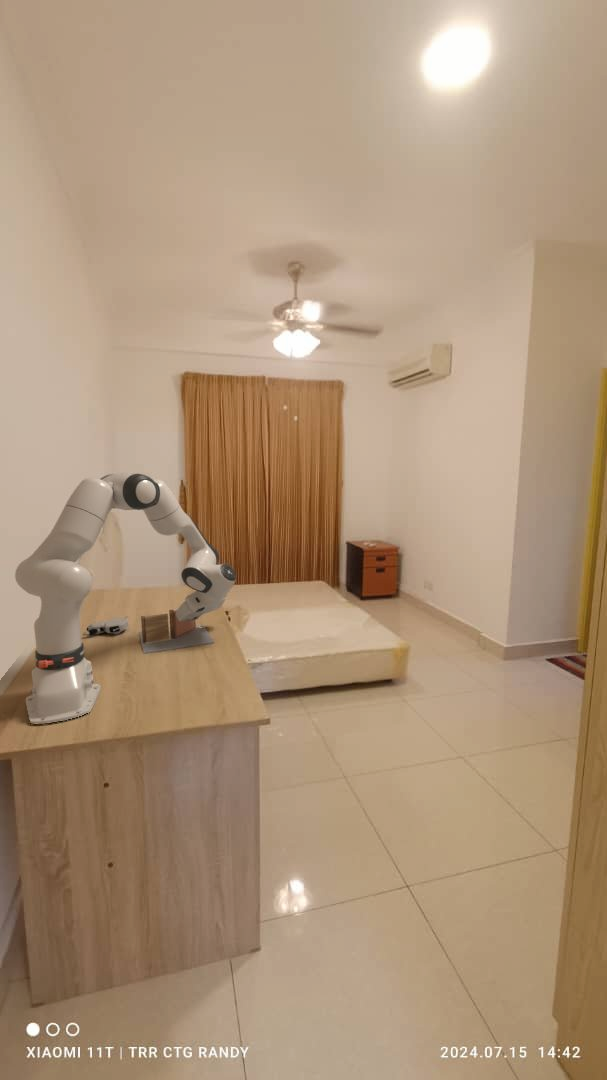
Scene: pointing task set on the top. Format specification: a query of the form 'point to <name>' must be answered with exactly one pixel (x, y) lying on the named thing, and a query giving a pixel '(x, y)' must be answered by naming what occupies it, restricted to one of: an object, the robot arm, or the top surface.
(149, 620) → the fence fixed
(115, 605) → the top surface
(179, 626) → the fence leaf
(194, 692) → the top surface
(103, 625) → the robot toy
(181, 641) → the board
